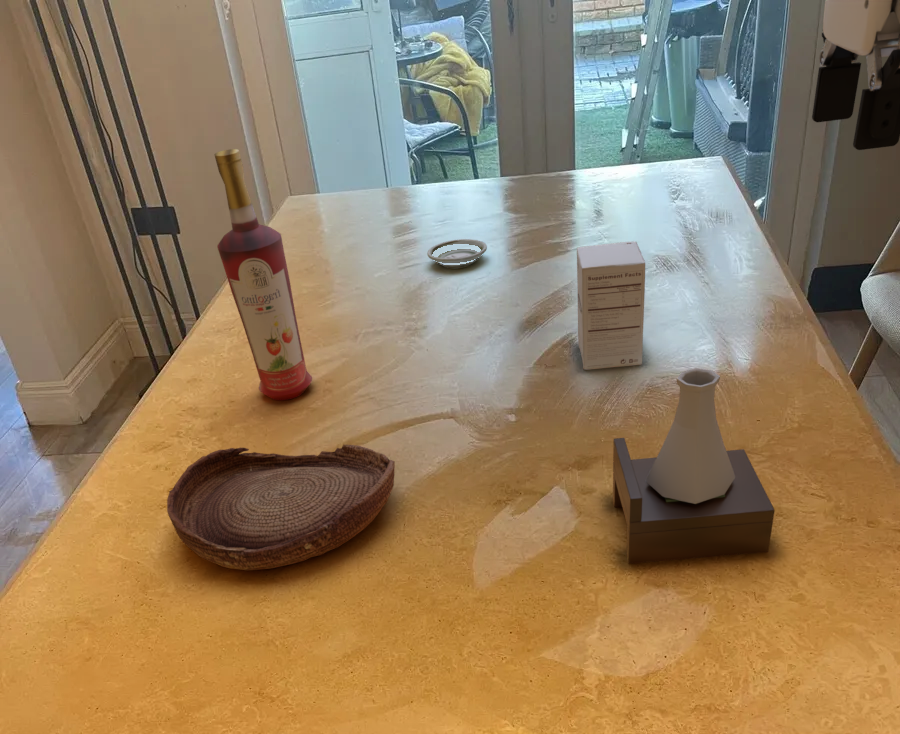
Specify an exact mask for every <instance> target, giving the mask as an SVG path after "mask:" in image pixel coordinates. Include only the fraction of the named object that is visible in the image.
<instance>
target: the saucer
mask: <svg viewBox="0 0 900 734" xmlns="http://www.w3.org/2000/svg"><path fill="white" fill-rule="evenodd" d="M453 244H469V245H475V246H478V247H479V248H480V249H481V251H480V252H477V251H475V250H471V249H457V250H451V251H447V252H445V253H442V254H440V255H439V256H438V257H434V256H432V254H433V252H434V251H435V250H437V249H438V248H441V247H443V246H447V245H453ZM487 250H488V245H487V244H486V243H485V242H483V241H481V240H478V239H471V238H461V239H459V238H458V239H452V240H447V241H443V242H440V243H438V244H435V245H433V246H431V247H430V248H429V249H428V250H427V253H426V254H427V257H428V258H429V259H430V260H432V261H433V260H435V261H437V262H442V263H460V262H467V261H471V260H474V259H477V258H478V257H480V256H481V255H482V254H483V255H484V253H485V252H487ZM483 255H482V256H483ZM482 256H481V257H482ZM481 257H480V258H481ZM478 260H479V259H477V260H475V261H473V262H469V263H466V264H460V265H442V264H439V265H440V266H443V267H444V268H446V269H453V270H455V269H456V270H457V269H462V268H463V269H464V268H466V267H470V266H471V265H473V264H474V262H476V261H478Z"/></svg>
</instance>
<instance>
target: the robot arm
mask: <svg viewBox="0 0 900 734" xmlns="http://www.w3.org/2000/svg"><path fill="white" fill-rule="evenodd" d="M821 37H822V39H823V40H822V41H823V45H822V47H821V49H820V51H819V57H818V63H819V67H818V73H817V79H816V87H815V93H814V100H813V107H812V113H811V114H812V115H811V120H812V121H813V122H814V123H824V122H833V121H840V120H848V119H850V118H851V117H852V116H853V114H854V109H855V103H856V98H857V97H856V96H857V91H858V85H859V84H858V83H859V78H860V74H861V68H862V62H859V61H858V62H856V61H857V60H858V59H859V56H861V57H865V59H866V70H867V82H868V88H863V89H862V90H861V96H860V101H859V107H858V112H857V113H858V114H857V119H856V125H855V132H854V136H853V142H852V146H853V148H854V149H855V150H857V151H864V150H872V149H879V148H886V147H888V148H889V147H894V146H896V145H897V144H899V142H900V0H825V1H824V9H823V21H822V32H821ZM884 57H885V58H887V59H886V60H885V63H884V64H883V59H882V58H884Z"/></svg>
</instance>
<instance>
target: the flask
mask: <svg viewBox="0 0 900 734" xmlns="http://www.w3.org/2000/svg"><path fill="white" fill-rule="evenodd" d="M720 380H721V375H719V374H718V373H716V372H715V371H713V370H711V369H705V368H699V367H694V368H691V369H687V370H683V371H681V373H680V374H679V375H678V376H677V378H676V384H677V386H678V387H679V398H678V404H677V407H676V410H675V414H674V417H673V420H672V424H671V426H670V428H669V430H668V432H667V435H666V437H665V438H664V441H663V444H662V446H661V447H660V450H659V452H658V454H657V456H656V457H657V458H656V460H655V462H654V464H653V466H652V468H651V470H650V472H649V474H648V477H647V479H646V482H647V483H648V484H649V485H650V486H651V487H653V488H654V489H655V490H656V491H657V492H658V493H659V494H660V495H662V496H663V497H666V498H671V499H675V500H680V501H684V502H689V503H693V504H697V503H700V502H703V501H706V500H709V499H712V498H715V497H718V496H721V495H724V494H725V493H726V491H727V490H728V488H729V486H730V485H731V483H732V482H733V480H734V479H735V475H734V472H733V468H732V466H731V463H730V460H729V457H728V454H727V451H728V450H727V449H726V446H725V443H724V440H723V439H724V438H723V436H722V433H721V430H720V426H719V423H718V419H717V411H716V402H715V395H716V392H715V391H716V386H717V385H718V384H719V383H720Z"/></svg>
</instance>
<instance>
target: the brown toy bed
mask: <svg viewBox="0 0 900 734" xmlns="http://www.w3.org/2000/svg"><path fill="white" fill-rule="evenodd" d="M612 440H613V444H612V445H613V447H612V449H613V451H612V453H613V454H612V461H613V462H612V504H613V507H614V508H622V511H623V514H624V518H625V523H626V561H627V563H628V564H631V565H632V564H642V563H654V562H666V561H678V560H690V559H702V558H714V557H725V556H737V555H738V556H739V555H751V554H761V553H762V554H763V553H768V552H769V548H770V543H771V536H772V530H773V524H774V517H775V511H776V510H775V508H774V506H773V504H772V502H771V500H770V498H769V495H768V493H767V492H766V489H765V488H764V485H763V484H762V482H761V480H760V478H759V476H758V474H757V472H756V470H755V468H754V466H753V464H752V462H751V460H750V458H749V457H748V454H747V452H746V450H745V449H744V448H741V449H731V450H730V449H729V450H726V451H727V454H728V457H729V460H730V463H731V466H732V468H733V472H734V475H735V479H734V480H733V482H732V483H731V485H730V486H729V488H728V490H727V491H726V493H725V494H724V495H721V496H718V497H715V498H712V499H709V500H706V501H703V502H700V503H697V504H693V503H689V502H684V501H680V500H675V499H671V498H666V497H663V496H662V495H660V494H659V493H658V492H657V491H656V490H655V489H654V488H653V487H651V486H650V485H649V484H648V483H647V482H646V479H647V477H648V474H649V472H650V470H651V468H652V466H653V464H654V462H655V460H656V458H657V456H656V457H644V458H635V459H633V458H632V459H631V455H630V452H629V448H628V445H627V441H626V438H625V437H618V438H616V437H615V438H613V439H612Z"/></svg>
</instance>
